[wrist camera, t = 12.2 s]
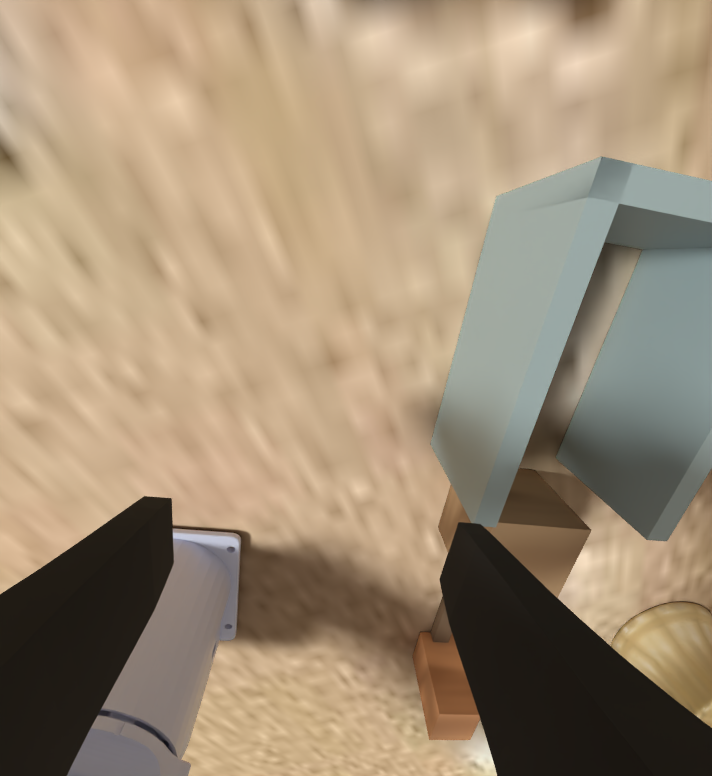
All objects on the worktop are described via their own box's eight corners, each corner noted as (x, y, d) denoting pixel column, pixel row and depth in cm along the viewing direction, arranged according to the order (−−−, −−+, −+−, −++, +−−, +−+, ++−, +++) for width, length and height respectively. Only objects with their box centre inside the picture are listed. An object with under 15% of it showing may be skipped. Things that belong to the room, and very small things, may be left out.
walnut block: (459, 657, 27) (485, 739, 23) (399, 655, 27) (413, 739, 22) (534, 470, 21) (591, 530, 16) (457, 462, 21) (494, 522, 16)
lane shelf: (570, 459, 21) (667, 541, 15) (430, 444, 20) (472, 525, 14) (670, 231, 16) (866, 215, 10) (496, 196, 15) (601, 156, 9)
